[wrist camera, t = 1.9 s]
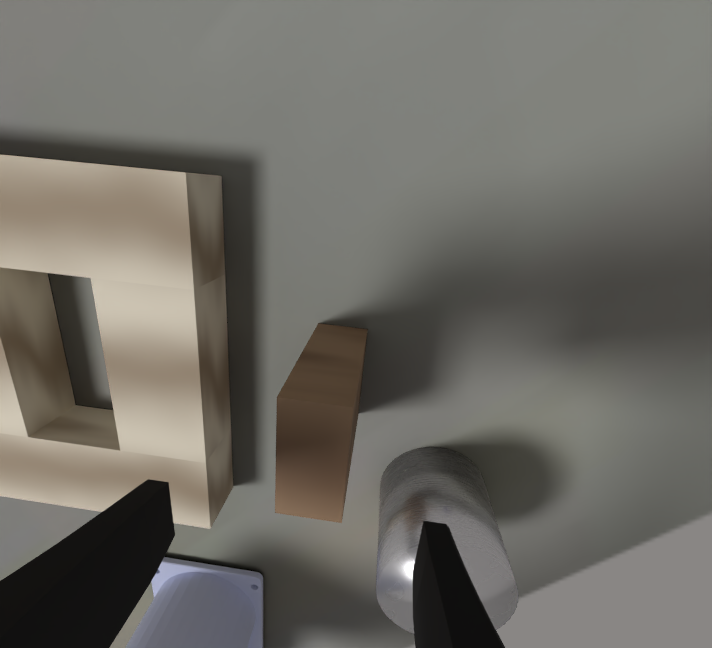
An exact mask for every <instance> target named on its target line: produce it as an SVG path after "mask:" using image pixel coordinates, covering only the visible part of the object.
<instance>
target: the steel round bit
mask: <svg viewBox="0 0 712 648" xmlns="http://www.w3.org/2000/svg"><path fill="white" fill-rule="evenodd" d="M423 521H430V522H437V523H443V524H447V526H448V527H449V528H450V531H451V534H452V536H453V539H454V541H455V544H456V546H457V549H458V551H459V554H460V556H461V558H462V561H463V563H464V565H465V567H466V570H467V572H468V574H469V576H470V579H471V581H472V583H473V585H474V587H475V589H476V591H477V594H478V596H479V598H480V600H481V602H482V604H483V606H484V608H485V610H486V612H487V614H488V616H489V618H490V620H491V622H492V624H493V626H494V628H495V630H497V629H498V628H500V627H501V626H502V625H504V624H505V623H506V622H507V621H508V620H509V619H510V617H511V616H512V615H513V613H514V611H515V609H516V607H517V603H518V588H517V585H516V582H515V579H514V575H513V572H512V569H511V566H510V563H509V560H508V556H507V553H506V550H505V547H504V544H503V540H502V537H501V534H500V531H499V528H498V524H497V521H496V518H495V515H494V512H493V509H492V505H491V502H490V499H489V496H488V493H487V489H486V486H485V483H484V480H483V477H482V474H481V473H480V471H479V469H478V468H477V467H476V465H475V464H474V463H473V462H472V461H471V460H469V459H468V458H467V457H465V456H463V455H462V454H460V453H458V452H455V451H452V450H449V449H445V448H439V447H424V448H418V449H414V450H411V451H408V452H405V453H403V454H401V455H400V456H398V457H397V458H395V459H394V460H393V461H392V462H391V463H390V464H389V465H388V466H387V468H386V469H385V471H384V473H383V475H382V478H381V485H380V508H379V532H378V555H377V579H376V595H377V600H378V603H379V605H380V607H381V609H382V610H383V612H384V613H385V614H386V616H387V617H388V618H389V619H390V620H391V621H393V622H394V623H395V624H396V625H398V626H399V627H401V628H403V629H404V630H406V631H408V632H410V633H413V634H414V625H413V577H412V573H413V568H414V563H415V558H416V554H417V549H418V544H419V539H420V535H421V530H422V525H423Z"/></svg>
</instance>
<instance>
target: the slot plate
mask: <svg viewBox="0 0 712 648" xmlns="http://www.w3.org/2000/svg"><path fill="white" fill-rule="evenodd" d="M48 273H53V274H61V275H70V276H79V277H87V278H91V282H92V288H93V294H94V300H95V306H96V311H97V317H98V323H99V329H100V335H101V341H102V346H103V352H104V358H105V364H106V370H107V375H108V381H109V387H110V393H111V399H112V405H113V410H107V409H100V408H93V407H86V406H78V405H76V404H75V399H74V395H73V390H72V385H71V381H70V376H69V371H68V367H67V362H66V357H65V353H64V348H63V343H62V338H61V334H60V329H59V324H58V320H57V315H56V310H55V306H54V301H53V296H52V292H51V287H50V282H49V278H48ZM148 479H150V480H157V481H164V482H169V490H170V498H171V506H172V515H173V523H177V524H183V525H190V526H196V527H202V528H209V529H211V527H212V525H213V523H214V521H215V520H216V518H217V516H218V514H219V512H220V510H221V508H222V507H223V505H224V503H225V501H226V499H227V497H228V495H229V494H230V492H231V490H232V488H233V467H232V441H231V414H230V387H229V360H228V334H227V307H226V280H225V254H224V227H223V200H222V176H218V175H207V174H197V173H187V172H176V171H166V170H156V169H146V168H135V167H125V166H115V165H105V164H94V163H84V162H74V161H64V160H53V159H43V158H33V157H22V156H12V155H2V154H0V496H4V497H10V498H16V499H23V500H29V501H36V502H42V503H49V504H55V505H61V506H68V507H74V508H81V509H87V510H93V511H100V512H103V511H104V510H106V509H107V508H108V507H110V506H111V505H113V504H114V503H115V502H117V501H118V500H120V499H121V498H122V497H124V496H125V495H127V494H128V493H129V492H131V491H132V490H133V489H135V488H136V487H138V486H139V485H140V484H142V483H143V482H145V481H146V480H148Z"/></svg>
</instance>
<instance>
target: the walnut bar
mask: <svg viewBox="0 0 712 648" xmlns="http://www.w3.org/2000/svg"><path fill="white" fill-rule="evenodd" d="M367 331H368V329H361V328H353V327H345V326H336V325H328V324H320V323H318V325H317V327H316V329H315V330H314V332H313V334H312V336H311V338H310V339H309V341H308V343H307V345H306V346H305V348H304V350H303V352H302V354H301V355H300V357H299V359H298V361H297V362H296V364H295V366H294V368H293V370H292V371H291V373H290V375H289V377H288V379H287V380H286V382H285V384H284V386H283V387H282V389H281V391H280V393H279V395H278V396H277V426H276V489H275V513H280V514H287V515H293V516H300V517H306V518H313V519H320V520H326V521H333V522H339V523H342V516H343V510H344V503H345V497H346V491H347V484H348V478H349V471H350V465H351V458H352V452H353V445H354V439H355V432H356V426H357V419H358V413H359V403H360V394H361V385H362V376H363V367H364V358H365V349H366V340H367Z"/></svg>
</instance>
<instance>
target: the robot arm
mask: <svg viewBox="0 0 712 648" xmlns="http://www.w3.org/2000/svg"><path fill="white" fill-rule="evenodd" d="M174 536H175V531H174V523H173V515H172V506H171V498H170V490H169V482H164V481H157V480H150V479H148V480H146V481H145V482H143V483H142V484H140V485H139V486H138V487H136V488H135V489H133V490H132V491H131V492H129V493H128V494H127V495H125V496H124V497H122V498H121V499H120V500H118V501H117V502H115V503H114V504H113V505H111V506H110V507H108V508H107V509H106V510H104V511H103V512H101V513H100V514H99V515H97V516H96V517H95V518H93V519H92V520H90V521H89V522H87V523H86V524H85V525H83V526H82V527H80V528H79V529H77V530H76V531H75V532H73V533H72V534H70V535H69V536H67V537H66V538H65V539H63V540H62V541H60V542H59V543H57V544H56V545H54V546H53V547H51V548H50V549H48V550H47V551H45V552H44V553H42V554H41V555H39V556H38V557H36V558H35V559H33V560H32V561H30V562H29V563H27V564H26V565H24V566H23V567H21V568H20V569H18V570H17V571H15V572H14V573H12V574H10V575H9V576H7V577H6V578H4V579H3V580H1V581H0V648H109V647H110V646H111V644H112V642H113V641H114V639H115V638H116V636H117V635H118V633H119V631H120V630H121V628H122V627H123V625H124V624H125V622H126V620H127V619H128V617H129V616H130V614H131V613H132V611H133V609H134V608H135V606H136V605H137V603H138V602H139V600H140V598H141V597H142V595H143V594H144V592H145V590H146V589H147V587H148V586H149V584H150V582H151V581H152V588H153V594H154V600H153V601H152V603H151V605H150V606H149V608H148V610H147V611H146V613H145V615H144V617H143V618H142V620H141V622H140V623H139V625H138V627H137V629H136V630H135V632H134V634H133V635H132V637H131V639H130V640H129V642H128V644H127V646H126V647H125V648H263V576H262V575H261V574H260V573H259V572H254V571H248V570H242V569H236V568H230V567H223V566H217V565H211V564H205V563H199V562H193V561H186V560H180V559H174V558H168V557H164V556H165V554H166V552H167V550H168V548H169V546H170V544H171V542H172V540H173V538H174ZM412 577H413V625H414V636H415V646H416V648H505V647H504V645H503V643H502V641H501V639H500V637H499V635H498V633H497V631H496V630H495V628H494V626H493V624H492V622H491V620H490V618H489V616H488V614H487V612H486V610H485V608H484V606H483V604H482V602H481V600H480V598H479V596H478V594H477V591H476V589H475V587H474V585H473V583H472V581H471V579H470V576H469V574H468V572H467V570H466V567H465V565H464V563H463V561H462V558H461V556H460V554H459V551H458V549H457V546H456V544H455V541H454V539H453V536H452V534H451V531H450V528H449V527H448V526H447V524H443V523H437V522H430V521H423V525H422V530H421V535H420V539H419V544H418V549H417V554H416V558H415V563H414V568H413V573H412Z"/></svg>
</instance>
